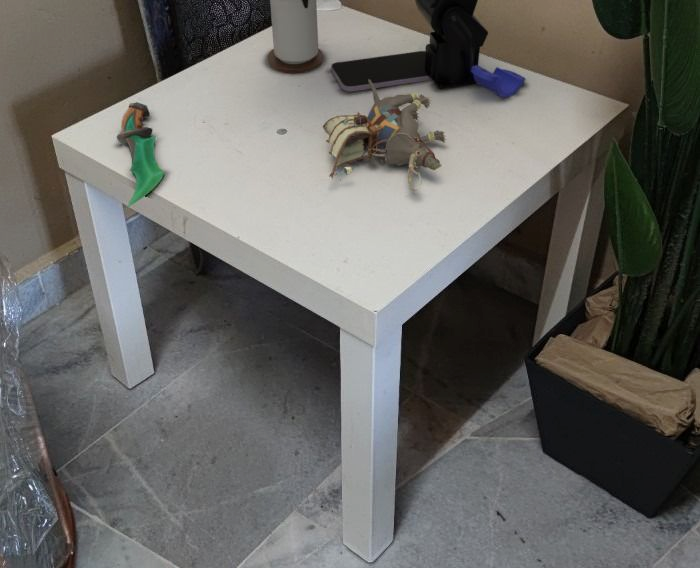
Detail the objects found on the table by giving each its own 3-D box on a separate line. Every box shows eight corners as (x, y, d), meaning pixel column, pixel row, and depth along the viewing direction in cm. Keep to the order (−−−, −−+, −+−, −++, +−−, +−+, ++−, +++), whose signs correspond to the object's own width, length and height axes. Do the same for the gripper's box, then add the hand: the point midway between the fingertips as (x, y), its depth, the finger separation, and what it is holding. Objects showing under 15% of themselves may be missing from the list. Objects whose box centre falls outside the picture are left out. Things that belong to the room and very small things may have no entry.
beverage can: (327, 57, 131) (325, -24, 123) (291, 71, 128) (286, -11, 120) (301, 41, 135) (297, -39, 127) (265, 54, 132) (259, -27, 124)
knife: (151, 110, 122) (112, 111, 121) (150, 98, 121) (111, 100, 119) (170, 210, 107) (126, 213, 106) (169, 197, 106) (125, 200, 105)
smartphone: (447, 73, 128) (344, 88, 124) (446, 80, 128) (344, 95, 125) (427, 49, 133) (328, 63, 129) (427, 56, 133) (328, 70, 130)
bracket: (532, 81, 125) (525, 99, 127) (507, 68, 128) (500, 85, 129) (490, 77, 119) (483, 95, 120) (465, 63, 122) (458, 81, 123)
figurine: (483, 138, 107) (359, 183, 100) (478, 179, 111) (358, 225, 105) (392, 58, 119) (276, 94, 113) (390, 97, 123) (278, 134, 117)
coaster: (315, 43, 136) (315, 39, 135) (329, 68, 130) (329, 64, 130) (262, 50, 134) (262, 47, 134) (274, 76, 129) (274, 73, 128)
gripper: (394, -154, 114) (391, -32, 124) (246, -140, 110) (256, -15, 120) (423, -125, 106) (417, 3, 116) (265, -109, 102) (273, 22, 112)
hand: (340, 2), depth 116 cm, fingers open, 9 cm apart
